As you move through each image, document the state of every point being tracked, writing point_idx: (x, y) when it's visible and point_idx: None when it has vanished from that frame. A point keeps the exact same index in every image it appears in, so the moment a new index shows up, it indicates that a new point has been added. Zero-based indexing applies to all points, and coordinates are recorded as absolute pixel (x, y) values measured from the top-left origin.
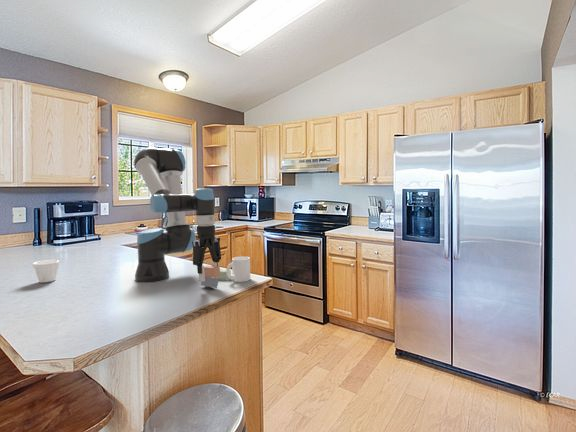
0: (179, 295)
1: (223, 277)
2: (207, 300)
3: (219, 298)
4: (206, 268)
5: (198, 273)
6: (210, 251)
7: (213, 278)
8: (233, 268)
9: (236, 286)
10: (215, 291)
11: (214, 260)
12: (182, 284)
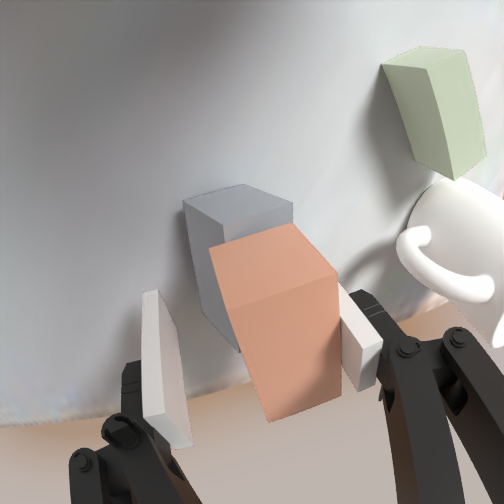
0: (13, 262)
1: (416, 136)
2: None
3: None
4: (244, 359)
5: (130, 368)
6: (411, 498)
7: None
8: (461, 267)
9: None
10: None
11: (388, 379)
12: (107, 3)
